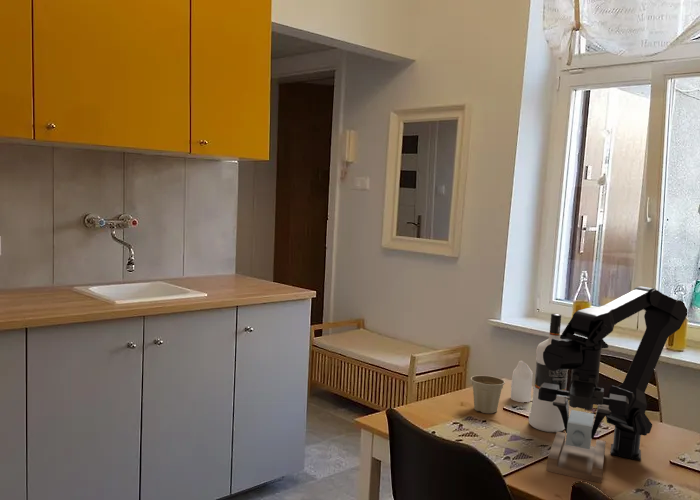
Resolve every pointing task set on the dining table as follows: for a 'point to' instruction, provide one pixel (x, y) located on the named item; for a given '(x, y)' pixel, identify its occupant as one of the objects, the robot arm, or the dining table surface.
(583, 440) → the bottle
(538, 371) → the vodka
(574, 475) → the u rest
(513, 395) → the white pointed cylinder
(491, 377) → the flower pot
